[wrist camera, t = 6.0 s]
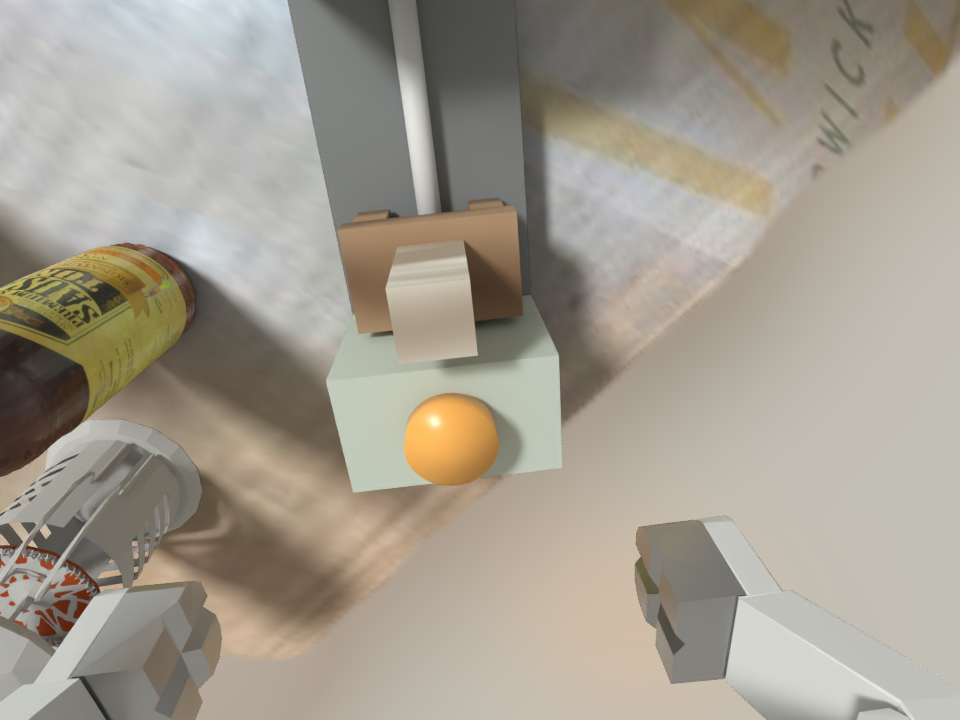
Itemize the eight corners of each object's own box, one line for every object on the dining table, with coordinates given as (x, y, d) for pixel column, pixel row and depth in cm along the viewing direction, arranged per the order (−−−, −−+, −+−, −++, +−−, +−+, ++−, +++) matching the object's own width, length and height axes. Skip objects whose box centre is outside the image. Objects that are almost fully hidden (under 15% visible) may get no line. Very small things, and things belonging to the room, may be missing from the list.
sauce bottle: (191, 239, 30) (-170, 447, 12) (209, 343, 33) (-67, 637, 15) (65, 234, 30) (-505, 444, 12) (93, 340, 32) (-335, 643, 14)
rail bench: (269, -136, 24) (164, -279, 15) (500, -157, 24) (537, -312, 15) (375, 390, 35) (353, 492, 26) (531, 373, 35) (562, 468, 26)
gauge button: (405, 349, 28) (397, 412, 22) (483, 341, 28) (494, 402, 22) (417, 416, 30) (411, 490, 24) (490, 408, 30) (501, 480, 24)
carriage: (350, 213, 28) (308, 269, 19) (506, 196, 28) (538, 243, 19) (368, 305, 30) (337, 394, 21) (513, 289, 30) (544, 371, 21)
